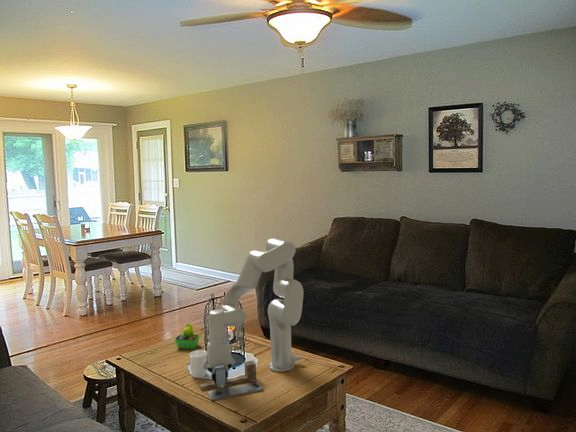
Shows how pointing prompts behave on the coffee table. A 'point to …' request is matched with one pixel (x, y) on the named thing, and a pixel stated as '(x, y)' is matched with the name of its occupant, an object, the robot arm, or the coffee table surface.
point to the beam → (249, 376)
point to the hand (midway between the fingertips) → (220, 380)
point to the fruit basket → (187, 338)
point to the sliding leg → (220, 376)
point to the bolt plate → (235, 391)
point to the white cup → (198, 363)
